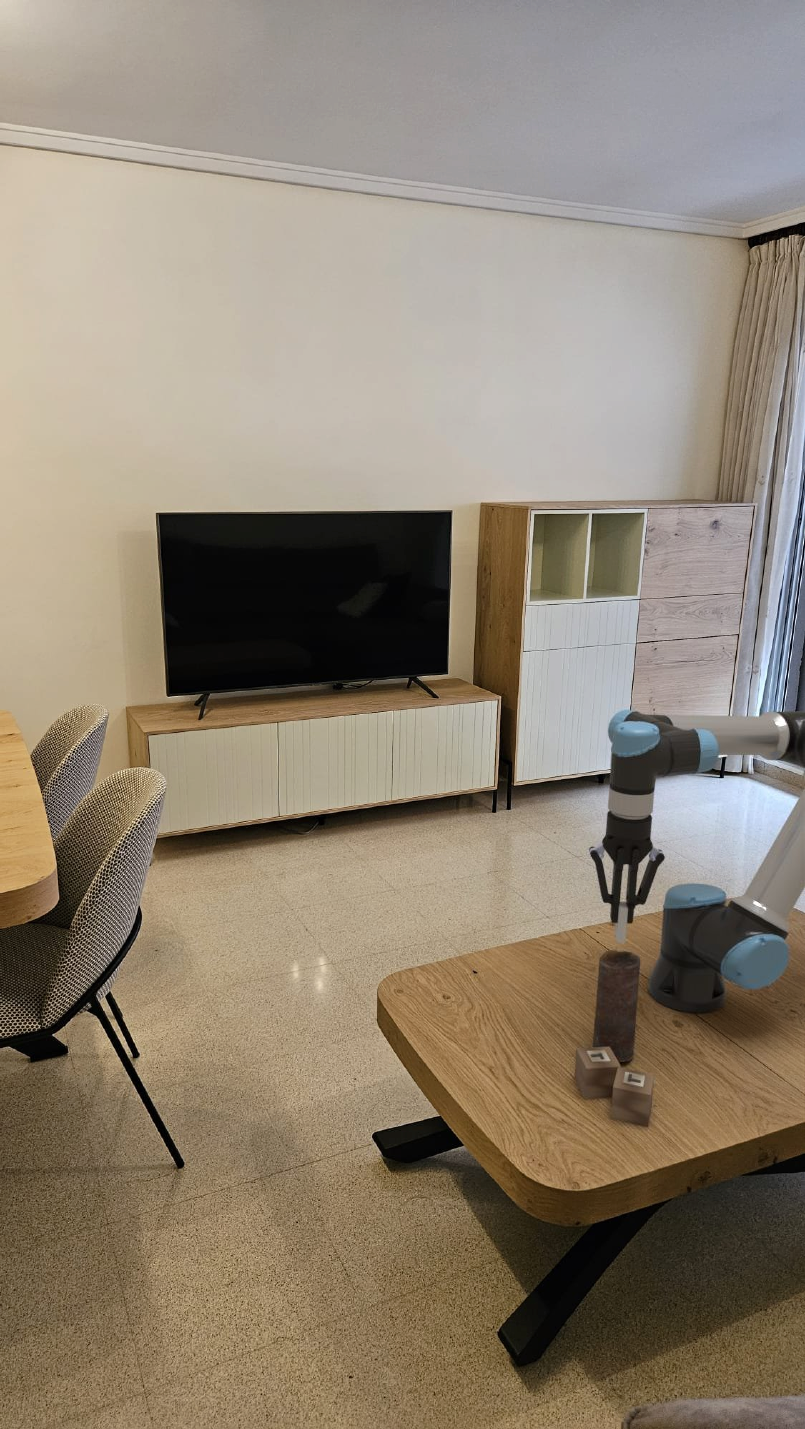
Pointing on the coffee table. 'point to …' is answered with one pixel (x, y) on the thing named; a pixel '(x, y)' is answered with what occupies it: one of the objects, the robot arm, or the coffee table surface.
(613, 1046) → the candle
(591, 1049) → the block two
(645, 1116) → the block seven
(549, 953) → the coffee table surface
